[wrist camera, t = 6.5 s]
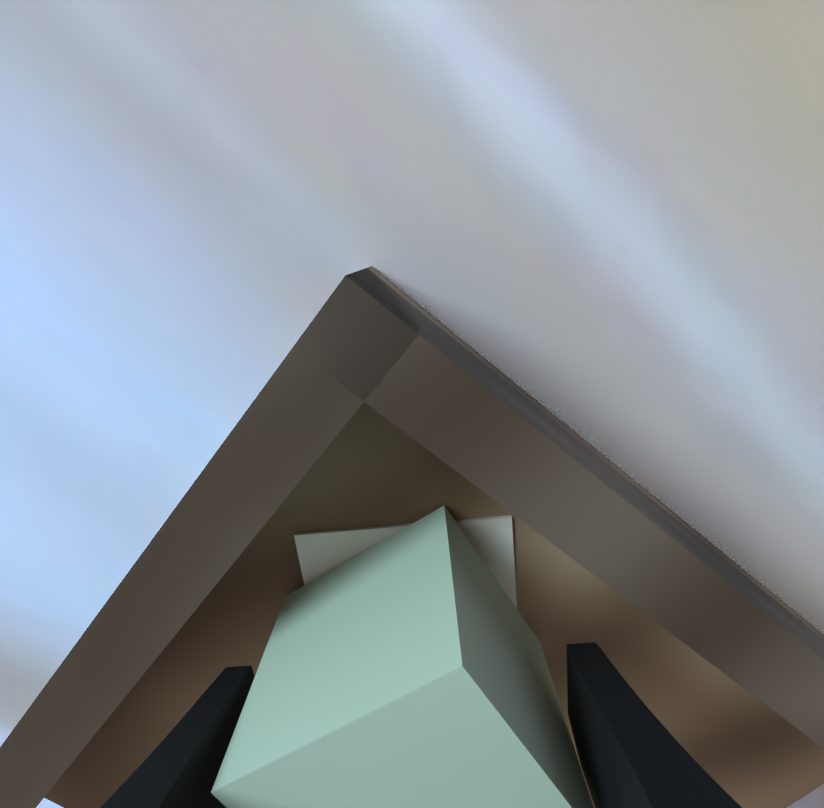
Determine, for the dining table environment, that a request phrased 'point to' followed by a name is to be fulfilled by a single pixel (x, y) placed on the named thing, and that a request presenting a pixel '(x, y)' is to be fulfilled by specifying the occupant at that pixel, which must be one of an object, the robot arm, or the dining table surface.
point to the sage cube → (403, 691)
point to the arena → (393, 511)
